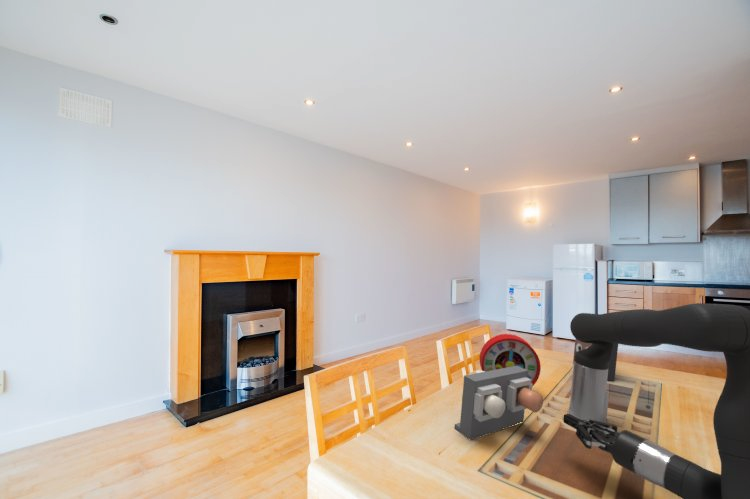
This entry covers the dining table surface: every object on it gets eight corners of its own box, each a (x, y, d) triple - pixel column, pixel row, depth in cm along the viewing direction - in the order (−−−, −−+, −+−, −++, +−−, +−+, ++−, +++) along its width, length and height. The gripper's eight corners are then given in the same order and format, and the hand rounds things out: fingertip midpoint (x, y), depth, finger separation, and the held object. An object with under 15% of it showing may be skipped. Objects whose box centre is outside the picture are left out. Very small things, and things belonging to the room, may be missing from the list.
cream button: (478, 411, 92) (479, 393, 92) (491, 408, 95) (492, 390, 95) (491, 419, 89) (493, 401, 88) (504, 416, 91) (506, 397, 91)
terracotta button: (516, 406, 97) (518, 389, 97) (528, 403, 100) (529, 386, 99) (530, 414, 93) (532, 396, 93) (542, 410, 96) (543, 393, 96)
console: (506, 413, 108) (511, 363, 107) (529, 426, 101) (534, 373, 101) (454, 428, 97) (459, 372, 97) (475, 444, 90) (480, 384, 90)
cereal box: (572, 365, 158) (577, 313, 157) (581, 365, 159) (587, 314, 158) (604, 381, 141) (610, 323, 140) (614, 381, 142) (620, 324, 141)
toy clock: (479, 389, 124) (483, 335, 123) (477, 382, 130) (481, 330, 129) (537, 398, 121) (543, 342, 120) (533, 391, 126) (538, 337, 126)
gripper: (660, 434, 76) (581, 398, 91) (631, 448, 69) (550, 408, 84) (657, 467, 76) (578, 426, 91) (627, 484, 69) (547, 437, 85)
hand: (565, 417), depth 88 cm, fingers closed
